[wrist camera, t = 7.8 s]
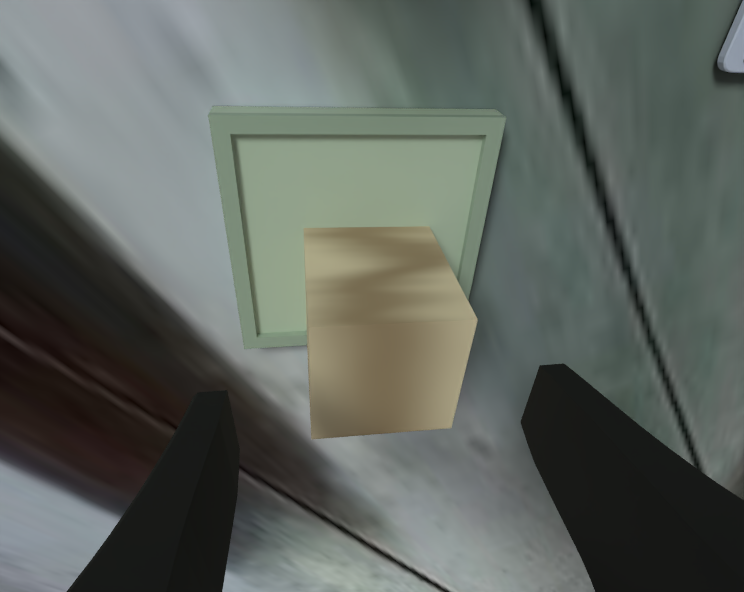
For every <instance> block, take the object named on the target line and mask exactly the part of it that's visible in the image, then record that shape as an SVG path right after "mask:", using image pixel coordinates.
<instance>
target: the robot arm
mask: <svg viewBox="0 0 744 592" xmlns="http://www.w3.org/2000/svg"><path fill="white" fill-rule="evenodd" d="M743 60H744V0H743V1H742V3H741V6H740V8H739V10H738V12H737V15H736V17H735V19H734V22H733V24H732V26H731V29H730V31H729V33H728V36H727V38H726V40H725V43H724V45H723V47H722V49H721V52H720V54H719V57H718V61H717V64H718V68H719V69H720V70H722V71H726V72H730V73H744V62H743ZM521 425H522V428H523V431H524V434H525V437H526V440H527V443H528V446H529V449H530V451H531V454H532V457H533V460H534V462H535V464H536V467H537V469H538V471H539V473H540V475H541V477H542V479H543V481H544V483H545V485H546V487H547V489H548V491H549V494H550V496H551V498H552V500H553V502H554V504H555V506H556V508H557V510H558V512H559V514H560V516H561V518H562V520H563V522H564V524H565V526H566V528H567V530H568V532H569V534H570V536H571V538H572V540H573V542H574V544H575V546H576V548H577V550H578V552H579V554H580V556H581V559H582V561H583V563H584V565H585V567H586V570H587V572H588V574H589V577H590V579H591V582H592V584H593V587H594V589H595V592H744V500H742V499H741V498H739V497H738V496H736V495H735V494H733V493H731V492H730V491H728V490H727V489H725V488H724V487H722V486H721V485H719V484H718V483H716V482H715V481H714V480H712V479H711V478H709V477H708V476H706V475H705V474H703V473H702V472H701V471H699V470H698V469H696V468H695V467H694V466H692V465H691V464H690V463H688V462H687V461H686V460H684V459H683V458H681V457H680V456H679V455H677V454H676V453H675V452H673V451H672V450H671V449H669V448H668V447H667V446H665V445H664V444H663V443H661V442H660V441H659V440H658V439H656V438H655V437H654V436H652V435H651V434H650V433H649V432H647V431H646V430H645V429H643V428H642V427H641V426H640V425H638V424H637V423H636V422H635V421H633V420H632V419H631V418H630V417H629V416H627V415H626V414H625V413H624V412H622V411H621V410H620V409H619V408H618V407H616V406H615V405H614V404H613V403H611V402H610V401H609V400H608V399H607V398H605V397H604V396H603V395H602V394H601V393H599V392H598V391H597V390H596V389H595V388H593V387H592V386H591V385H590V384H589V383H587V382H586V381H585V380H584V379H583V378H581V377H580V376H579V375H578V374H576V373H575V372H574V371H573V370H571V369H570V368H569V367H568V366H566V365H565V364H553V365H540V367H539V369H538V372H537V375H536V378H535V381H534V384H533V387H532V390H531V393H530V396H529V399H528V402H527V405H526V408H525V410H524V413H523V416H522V419H521ZM239 453H240V448H239V443H238V439H237V434H236V429H235V425H234V420H233V415H232V411H231V406H230V401H229V397H228V392H227V390H225V391H212V392H199V393H197V394H196V395H195V396H194V397H193V399H192V401H191V403H190V405H189V407H188V409H187V411H186V413H185V415H184V417H183V419H182V420H181V422H180V424H179V426H178V428H177V430H176V431H175V433H174V435H173V437H172V438H171V440H170V442H169V444H168V445H167V447H166V449H165V451H164V452H163V454H162V456H161V457H160V459H159V461H158V462H157V464H156V465H155V467H154V469H153V470H152V472H151V474H150V475H149V477H148V478H147V480H146V482H145V483H144V485H143V486H142V488H141V490H140V491H139V493H138V494H137V496H136V497H135V499H134V500H133V501H132V503H131V504H130V506H129V507H128V509H127V510H126V512H125V513H124V515H123V516H122V518H121V519H120V521H119V522H118V523H117V525H116V526H115V528H114V529H113V531H112V532H111V534H110V535H109V536H108V538H107V539H106V541H105V542H104V543H103V545H102V546H101V547H100V549H99V550H98V551H97V553H96V554H95V556H94V557H93V558H92V560H91V561H90V562H89V564H88V565H87V566H86V567H85V569H84V570H83V571H82V573H81V574H80V575H79V576H78V578H77V579H76V580H75V582H74V583H73V584H72V585H71V587H70V588H69V589H68V591H67V592H222V589H223V582H224V576H225V570H226V564H227V557H228V551H229V545H230V539H231V533H232V526H233V520H234V513H235V507H236V500H237V492H238V475H239Z"/></svg>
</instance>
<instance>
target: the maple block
mask: <svg viewBox="0 0 744 592" xmlns="http://www.w3.org/2000/svg"><path fill="white" fill-rule="evenodd" d="M304 259H305V292H306V325H307V349H308V371H309V394H310V416H311V439H321V438H333V437H346V436H358V435H371V434H383V433H396V432H408V431H421V430H433V429H445V428H451V427H452V423H453V419H454V415H455V411H456V406H457V402H458V398H459V394H460V390H461V386H462V382H463V378H464V374H465V370H466V366H467V361H468V357H469V353H470V349H471V345H472V341H473V337H474V333H475V329H476V325H477V321H478V319H477V317H476V315H475V313H474V312H473V310H472V308H471V306H470V304H469V302H468V300H467V298H466V296H465V294H464V292H463V290H462V288H461V286H460V284H459V283H458V281H457V279H456V277H455V275H454V273H453V271H452V269H451V267H450V265H449V263H448V261H447V259H446V257H445V255H444V254H443V252H442V250H441V248H440V246H439V244H438V242H437V240H436V238H435V236H434V234H433V232H432V230H431V228H430V226H414V227H338V228H304Z"/></svg>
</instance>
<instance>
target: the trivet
mask: <svg viewBox="0 0 744 592" xmlns="http://www.w3.org/2000/svg"><path fill="white" fill-rule="evenodd" d="M208 117H209V124H210V130H211V137H212V143H213V150H214V156H215V162H216V169H217V175H218V182H219V188H220V195H221V201H222V208H223V214H224V221H225V227H226V234H227V240H228V246H229V253H230V259H231V266H232V272H233V279H234V285H235V292H236V298H237V305H238V311H239V318H240V324H241V330H242V337H243V343H244V349H251V348H268V347H285V346H301V345H307V325H306V292H305V259H304V228H338V227H414V226H430V228H431V230H432V232H433V234H434V236H435V238H436V240H437V242H438V244H439V246H440V248H441V250H442V252H443V254H444V255H445V257H446V259H447V261H448V263H449V265H450V267H451V269H452V271H453V273H454V275H455V277H456V279H457V281H458V283H459V284H460V286H461V288H462V290H463V292H464V294H465V296H466V298H467V300H469V295H470V290H471V286H472V281H473V276H474V271H475V266H476V261H477V257H478V252H479V247H480V242H481V237H482V232H483V228H484V223H485V218H486V213H487V208H488V203H489V199H490V194H491V189H492V184H493V179H494V174H495V170H496V165H497V160H498V155H499V150H500V145H501V141H502V136H503V131H504V126H505V121H506V117H505V116H503V115H502V114H501V113H499V112H498V111H497V110H495V109H426V108H335V107H245V106H213V107H212V109H211V111H210V112H209V114H208Z"/></svg>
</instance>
